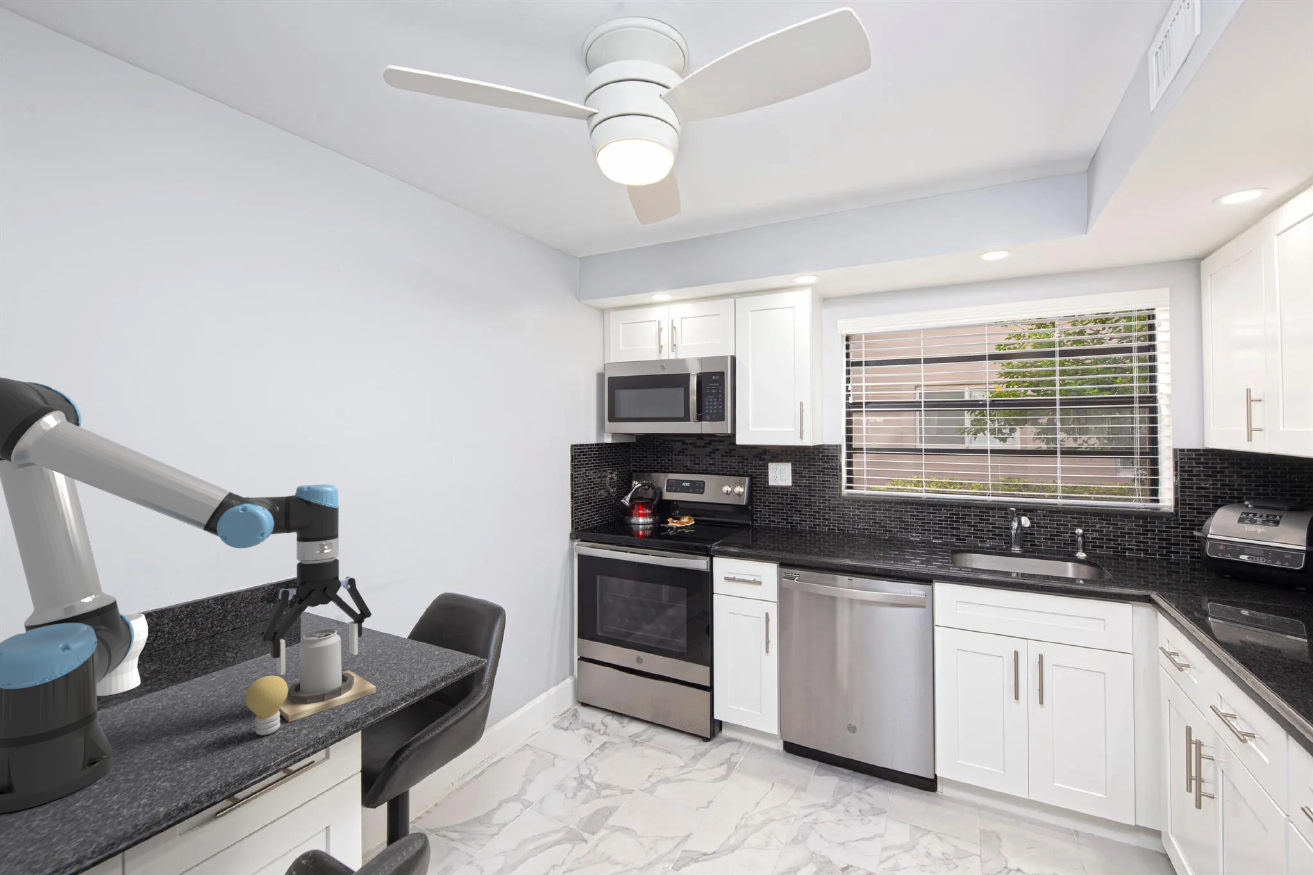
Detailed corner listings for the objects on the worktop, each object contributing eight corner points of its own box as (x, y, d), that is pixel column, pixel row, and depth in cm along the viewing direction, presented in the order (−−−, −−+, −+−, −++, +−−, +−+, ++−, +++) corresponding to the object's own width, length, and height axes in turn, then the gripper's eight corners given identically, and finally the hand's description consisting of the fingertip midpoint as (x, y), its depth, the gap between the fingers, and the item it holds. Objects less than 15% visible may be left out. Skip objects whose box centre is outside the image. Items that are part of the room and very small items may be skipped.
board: (289, 722, 108) (288, 707, 108) (266, 701, 118) (265, 687, 118) (376, 692, 121) (375, 679, 121) (349, 675, 130) (348, 663, 130)
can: (322, 700, 115) (320, 640, 115) (290, 697, 116) (289, 638, 116) (350, 684, 122) (348, 627, 122) (320, 682, 124) (319, 626, 124)
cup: (152, 687, 126) (150, 618, 126) (83, 704, 118) (81, 631, 118) (146, 674, 133) (144, 609, 133) (81, 689, 126) (79, 621, 125)
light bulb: (256, 744, 101) (255, 687, 101) (239, 735, 104) (238, 680, 104) (295, 728, 106) (294, 674, 106) (278, 720, 109) (277, 667, 109)
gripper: (251, 573, 107) (252, 687, 107) (387, 552, 126) (387, 649, 126) (240, 567, 112) (241, 676, 112) (372, 548, 131) (373, 642, 131)
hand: (318, 662), depth 119 cm, fingers open, 13 cm apart
